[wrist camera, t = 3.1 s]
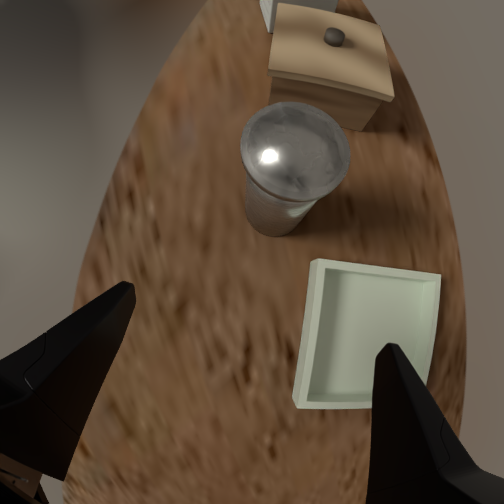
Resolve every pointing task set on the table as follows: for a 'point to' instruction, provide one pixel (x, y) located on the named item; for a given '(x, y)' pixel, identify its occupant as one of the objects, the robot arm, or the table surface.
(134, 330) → the table surface
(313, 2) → the supplement box
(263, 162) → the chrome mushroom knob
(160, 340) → the table surface
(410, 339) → the tray
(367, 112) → the lidded bin
